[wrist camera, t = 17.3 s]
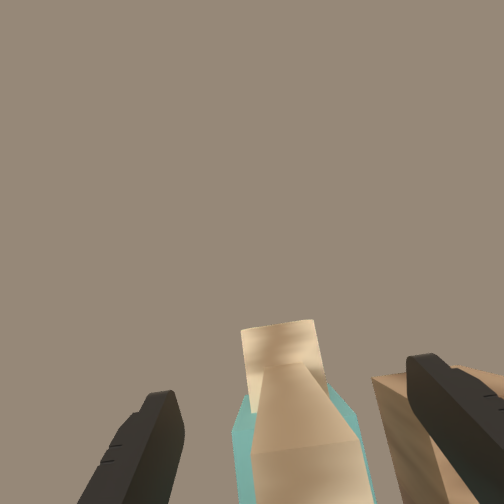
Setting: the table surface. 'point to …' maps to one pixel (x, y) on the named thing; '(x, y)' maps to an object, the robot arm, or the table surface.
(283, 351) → the beige stepped block
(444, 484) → the walnut tower
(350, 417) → the gray teal square column
